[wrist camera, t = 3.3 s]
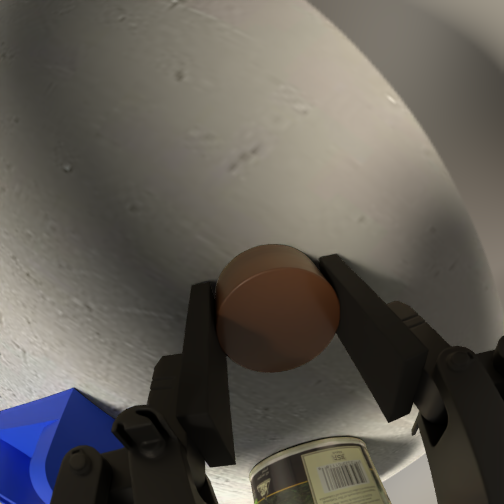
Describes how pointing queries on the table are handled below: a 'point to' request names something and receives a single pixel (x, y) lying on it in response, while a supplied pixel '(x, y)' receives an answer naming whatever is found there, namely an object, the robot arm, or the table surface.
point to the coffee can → (319, 475)
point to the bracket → (47, 443)
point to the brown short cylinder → (274, 309)
